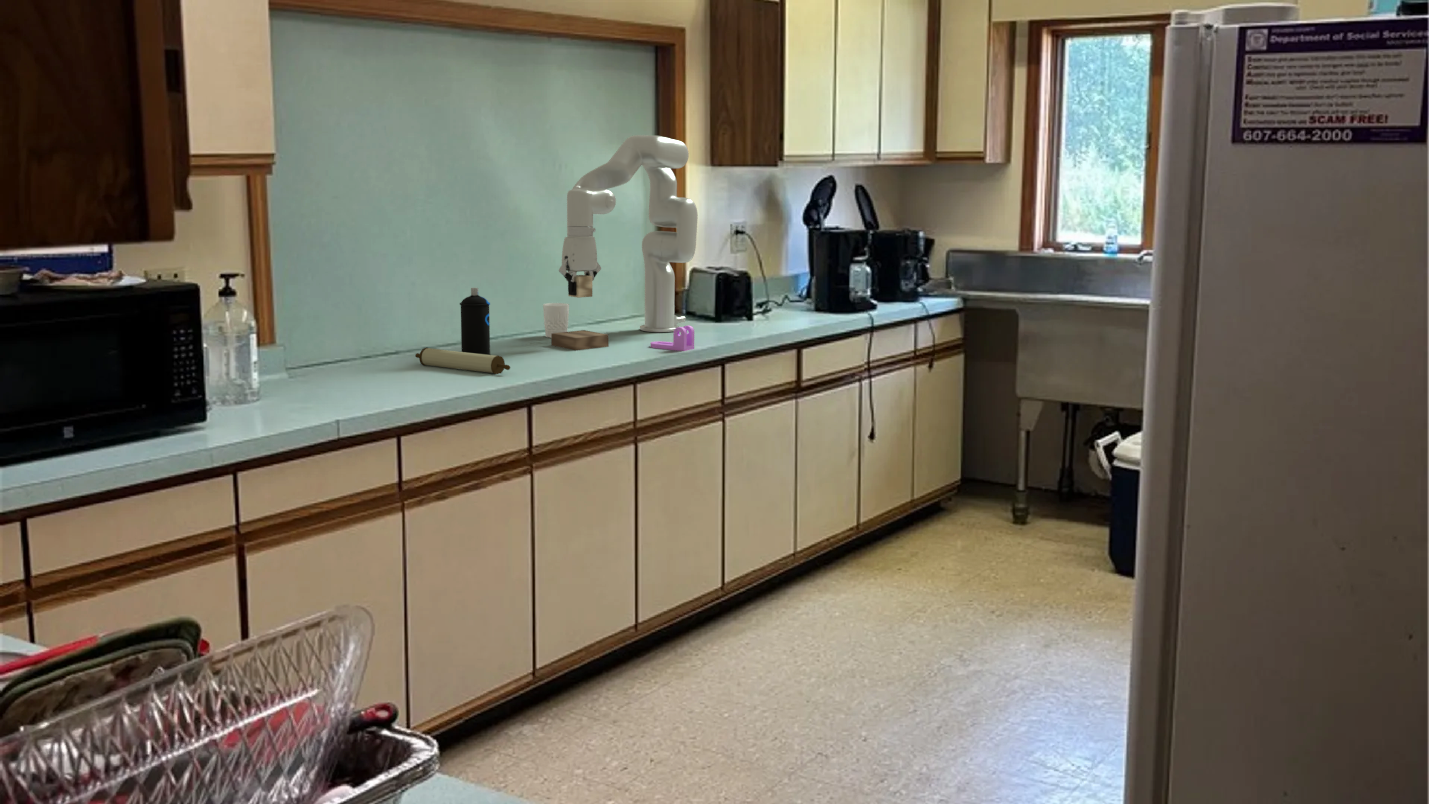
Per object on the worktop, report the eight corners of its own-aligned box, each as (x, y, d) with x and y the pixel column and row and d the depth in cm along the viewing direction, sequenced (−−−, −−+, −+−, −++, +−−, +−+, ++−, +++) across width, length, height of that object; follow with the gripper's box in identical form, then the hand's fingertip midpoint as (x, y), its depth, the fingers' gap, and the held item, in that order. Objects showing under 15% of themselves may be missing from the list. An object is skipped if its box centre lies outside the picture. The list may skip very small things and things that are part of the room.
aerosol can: (465, 363, 371) (464, 290, 367) (456, 359, 378) (455, 286, 375) (495, 361, 375) (494, 288, 371) (485, 357, 382) (484, 285, 378)
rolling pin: (408, 365, 368) (408, 347, 367) (423, 363, 373) (422, 344, 372) (503, 377, 352) (502, 358, 351) (516, 374, 357) (516, 355, 356)
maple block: (582, 295, 406) (581, 274, 405) (592, 296, 403) (592, 276, 402) (568, 296, 403) (568, 275, 402) (578, 297, 400) (578, 277, 398)
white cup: (571, 335, 428) (571, 303, 426) (566, 338, 420) (566, 306, 418) (546, 334, 428) (546, 302, 427) (540, 338, 421) (540, 305, 419)
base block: (583, 343, 414) (583, 330, 413) (608, 348, 406) (608, 334, 405) (551, 346, 406) (551, 333, 405) (575, 351, 398) (575, 338, 397)
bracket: (694, 349, 404) (694, 325, 402) (684, 351, 399) (684, 327, 398) (657, 345, 410) (657, 322, 409) (646, 347, 406) (647, 324, 404)
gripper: (595, 230, 408) (595, 291, 411) (548, 232, 397) (549, 295, 400) (611, 232, 403) (611, 293, 406) (564, 234, 391) (564, 297, 395)
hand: (580, 293), depth 403 cm, fingers closed on maple block, 5 cm apart
